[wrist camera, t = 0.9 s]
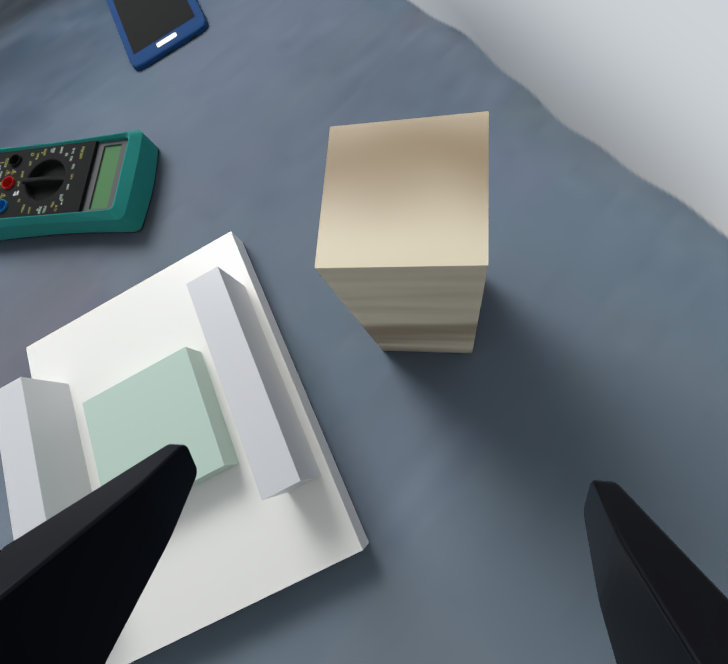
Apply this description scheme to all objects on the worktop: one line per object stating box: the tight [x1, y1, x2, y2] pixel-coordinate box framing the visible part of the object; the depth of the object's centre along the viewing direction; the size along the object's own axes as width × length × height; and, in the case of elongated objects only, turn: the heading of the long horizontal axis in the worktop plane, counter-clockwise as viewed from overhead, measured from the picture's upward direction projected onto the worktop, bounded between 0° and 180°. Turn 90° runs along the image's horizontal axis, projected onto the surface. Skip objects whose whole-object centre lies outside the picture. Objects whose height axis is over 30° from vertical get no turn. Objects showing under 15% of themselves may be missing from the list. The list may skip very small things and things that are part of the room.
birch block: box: [315, 111, 489, 353], centre depth 18 cm, size 5×5×12 cm
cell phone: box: [106, 0, 208, 71], centre depth 36 cm, size 7×14×1 cm, turn 26°
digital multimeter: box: [0, 130, 158, 240], centre depth 31 cm, size 7×15×3 cm, turn 87°
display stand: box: [0, 232, 369, 664], centre depth 23 cm, size 20×16×4 cm
